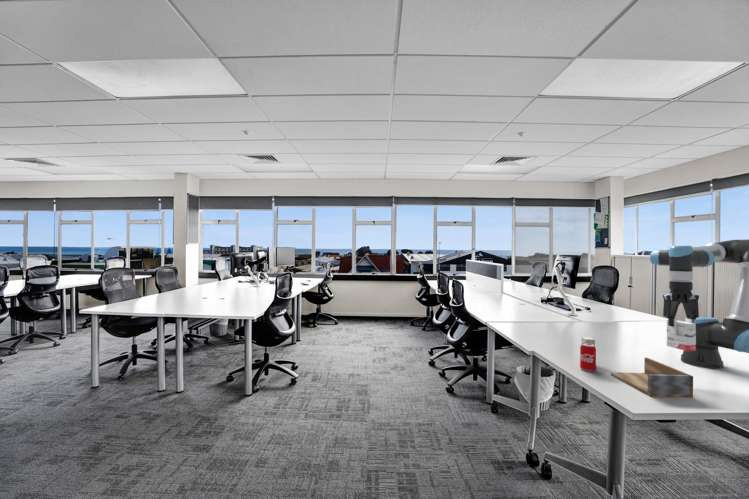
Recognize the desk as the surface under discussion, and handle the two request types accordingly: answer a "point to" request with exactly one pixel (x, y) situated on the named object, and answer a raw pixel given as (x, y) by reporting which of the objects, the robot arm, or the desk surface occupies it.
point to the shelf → (659, 380)
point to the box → (588, 340)
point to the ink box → (682, 336)
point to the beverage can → (588, 357)
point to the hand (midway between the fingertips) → (680, 333)
